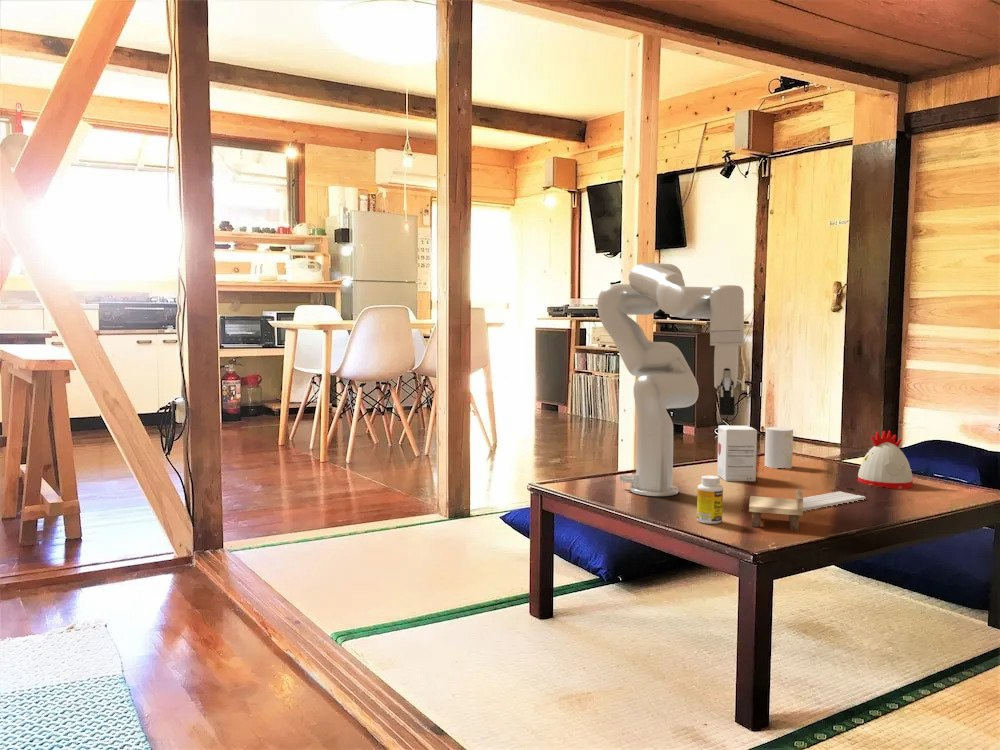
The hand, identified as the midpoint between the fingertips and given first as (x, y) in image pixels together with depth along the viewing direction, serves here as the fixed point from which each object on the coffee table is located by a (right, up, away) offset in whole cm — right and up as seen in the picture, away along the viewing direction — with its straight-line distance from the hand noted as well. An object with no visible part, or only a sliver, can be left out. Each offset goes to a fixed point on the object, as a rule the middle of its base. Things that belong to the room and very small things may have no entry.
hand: (727, 413), depth 186 cm
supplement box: (+16, -21, +46) cm, 53 cm away
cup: (+35, -20, +65) cm, 77 cm away
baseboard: (+25, -24, +15) cm, 38 cm away
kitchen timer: (+56, -22, +40) cm, 72 cm away
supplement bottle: (-5, -25, -5) cm, 25 cm away
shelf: (+9, -24, -6) cm, 27 cm away
